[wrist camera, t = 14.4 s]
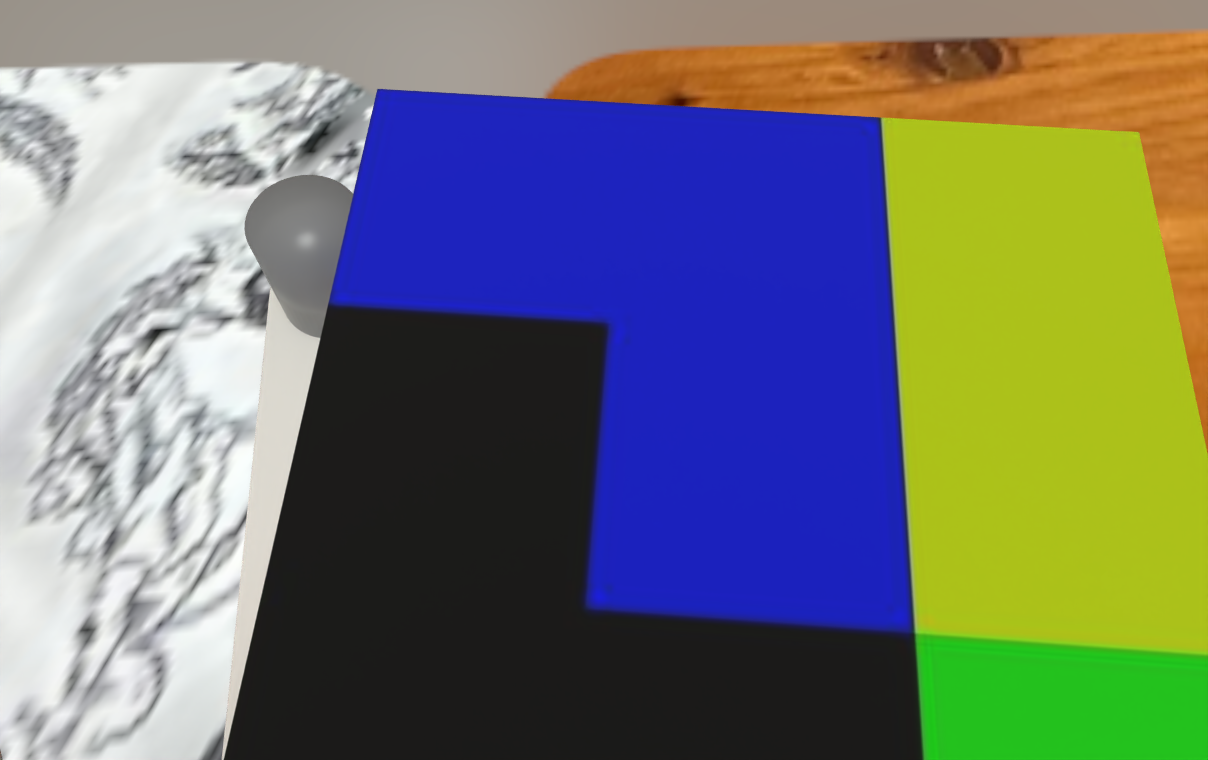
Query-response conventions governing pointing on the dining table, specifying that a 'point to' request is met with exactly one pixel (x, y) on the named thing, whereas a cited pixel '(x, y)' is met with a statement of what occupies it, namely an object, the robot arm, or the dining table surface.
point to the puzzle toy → (738, 448)
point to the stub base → (284, 364)
